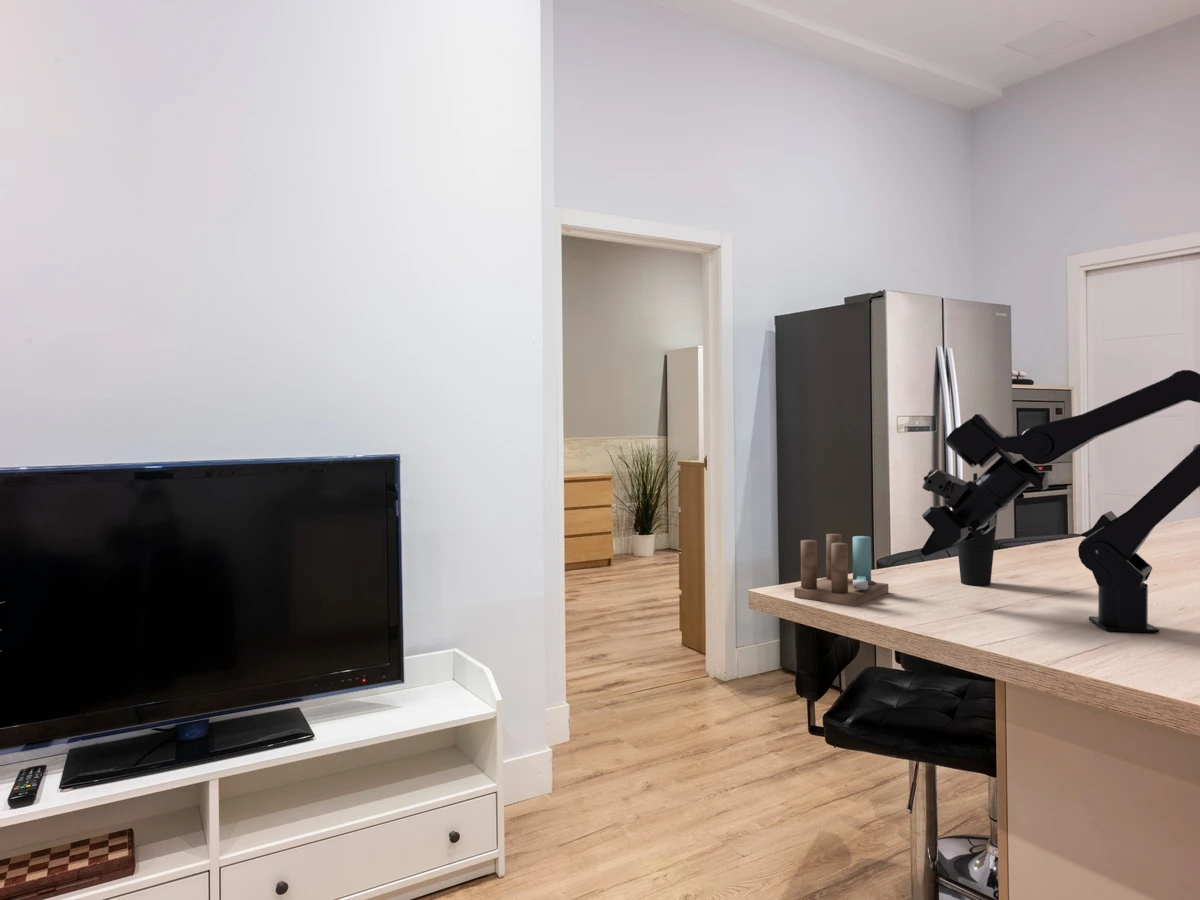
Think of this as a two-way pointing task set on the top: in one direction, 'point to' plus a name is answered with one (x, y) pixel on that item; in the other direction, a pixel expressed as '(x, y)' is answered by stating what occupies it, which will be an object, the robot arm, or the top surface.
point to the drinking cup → (977, 556)
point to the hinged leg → (861, 562)
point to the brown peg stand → (832, 576)
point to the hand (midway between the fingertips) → (923, 553)
